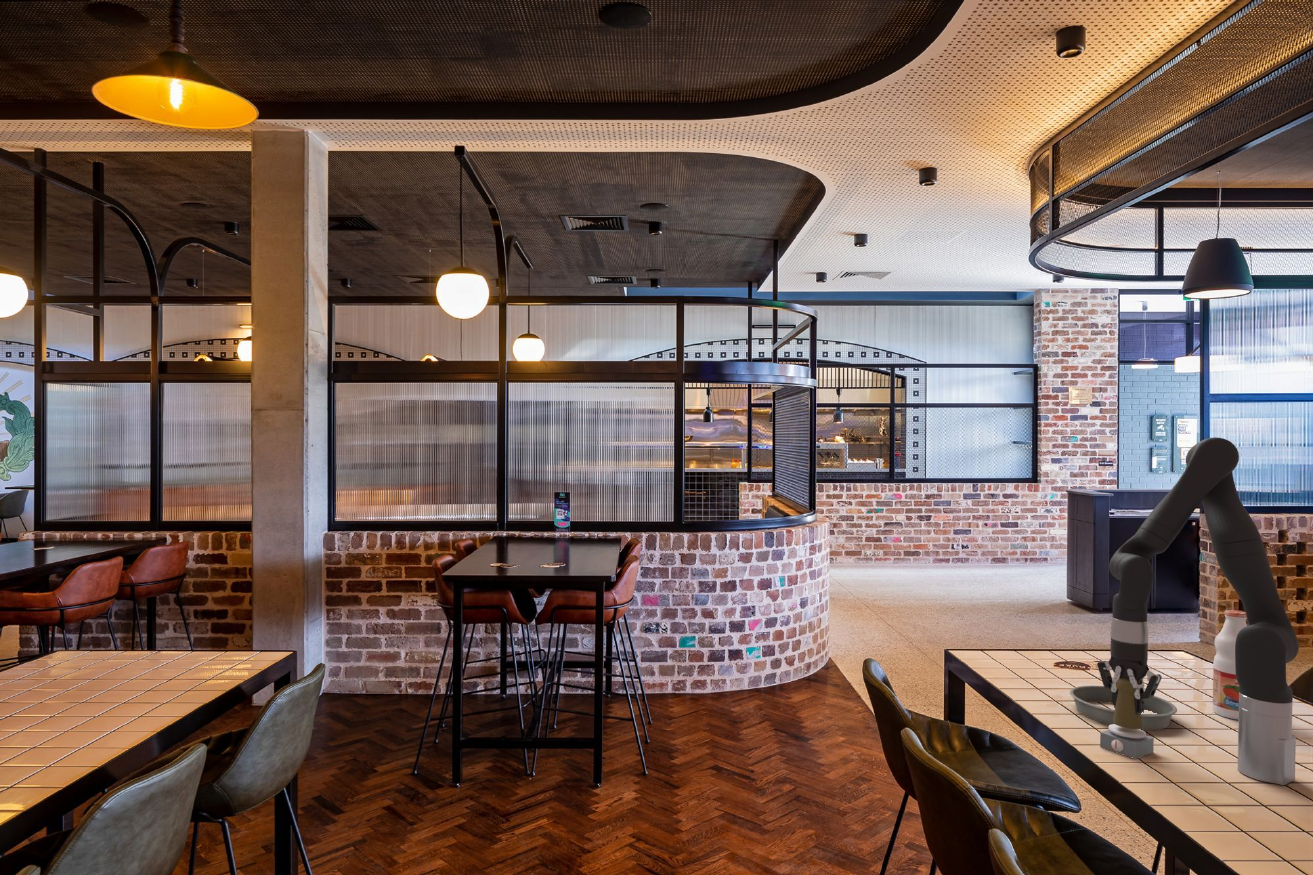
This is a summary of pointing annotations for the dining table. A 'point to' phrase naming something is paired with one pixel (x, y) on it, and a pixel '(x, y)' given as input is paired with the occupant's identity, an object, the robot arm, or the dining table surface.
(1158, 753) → the dining table surface
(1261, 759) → the robot arm
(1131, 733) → the scale
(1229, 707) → the fruit juice
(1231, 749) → the dining table surface
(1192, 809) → the dining table surface
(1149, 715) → the cake pan
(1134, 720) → the olive pepper mill
